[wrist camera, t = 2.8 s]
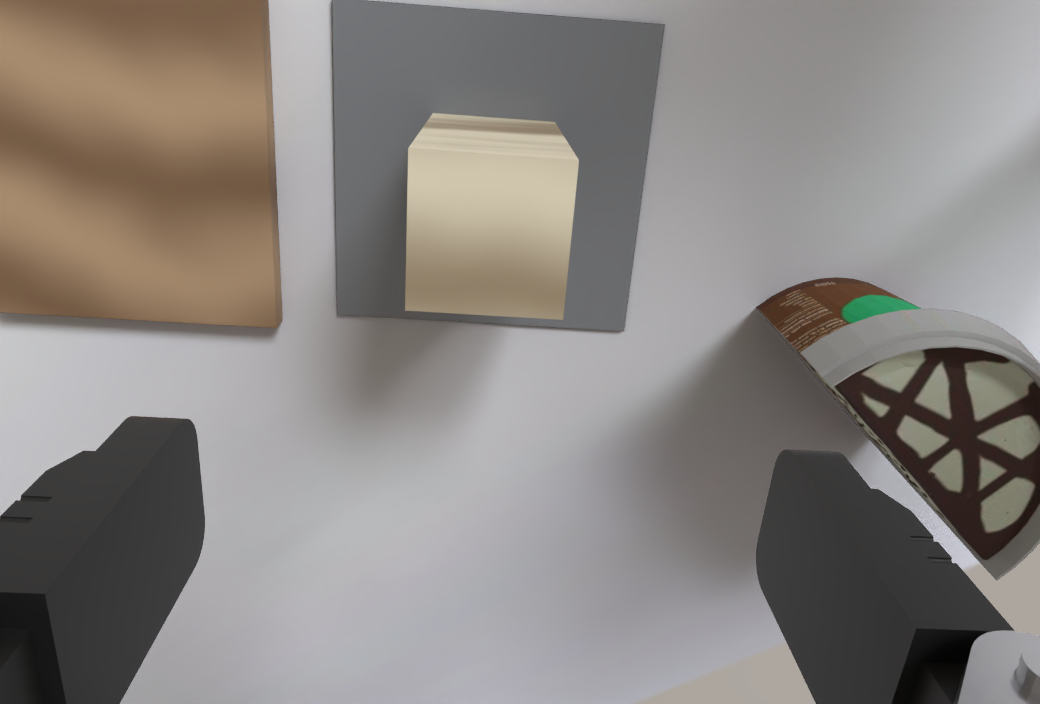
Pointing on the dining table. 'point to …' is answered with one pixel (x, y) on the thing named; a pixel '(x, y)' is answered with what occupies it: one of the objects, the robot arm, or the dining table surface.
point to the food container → (931, 404)
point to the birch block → (489, 217)
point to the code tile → (489, 93)
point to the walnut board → (138, 161)
